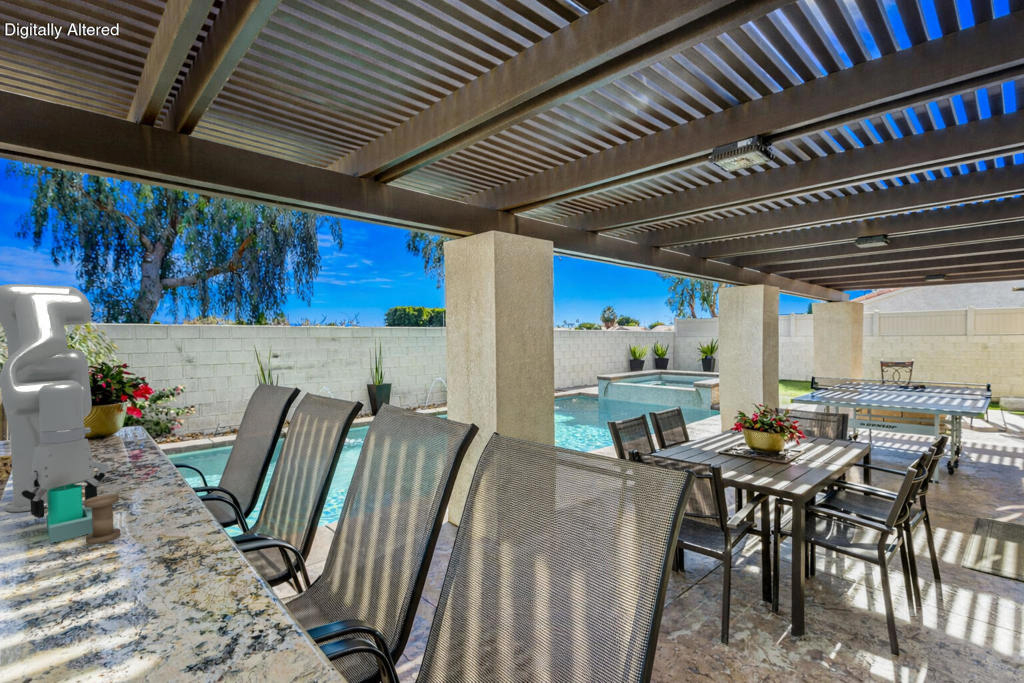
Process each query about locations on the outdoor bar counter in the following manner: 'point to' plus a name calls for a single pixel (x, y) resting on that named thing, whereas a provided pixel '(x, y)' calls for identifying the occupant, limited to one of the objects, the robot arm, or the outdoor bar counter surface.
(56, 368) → the robot arm
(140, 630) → the outdoor bar counter surface
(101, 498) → the bobbin
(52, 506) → the candle
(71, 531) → the notch board
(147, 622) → the outdoor bar counter surface
